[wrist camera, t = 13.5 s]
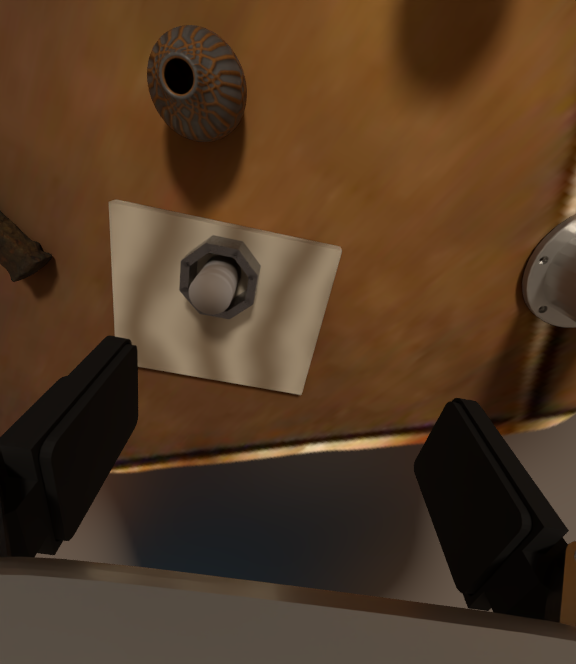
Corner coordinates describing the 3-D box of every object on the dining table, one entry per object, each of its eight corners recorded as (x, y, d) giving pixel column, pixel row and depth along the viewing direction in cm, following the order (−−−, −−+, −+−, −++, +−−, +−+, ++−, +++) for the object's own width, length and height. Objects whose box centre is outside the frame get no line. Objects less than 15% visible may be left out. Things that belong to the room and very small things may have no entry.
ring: (264, 245, 33) (261, 254, 30) (253, 310, 36) (250, 323, 34) (191, 230, 32) (181, 238, 30) (187, 297, 36) (178, 310, 33)
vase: (228, 158, 31) (206, 163, 23) (156, 111, 29) (105, 99, 21) (266, 77, 28) (255, 51, 20) (188, 20, 26) (143, -32, 19)
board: (340, 246, 34) (350, 270, 28) (301, 387, 43) (302, 431, 36) (116, 199, 33) (70, 213, 26) (121, 355, 41) (88, 396, 34)
